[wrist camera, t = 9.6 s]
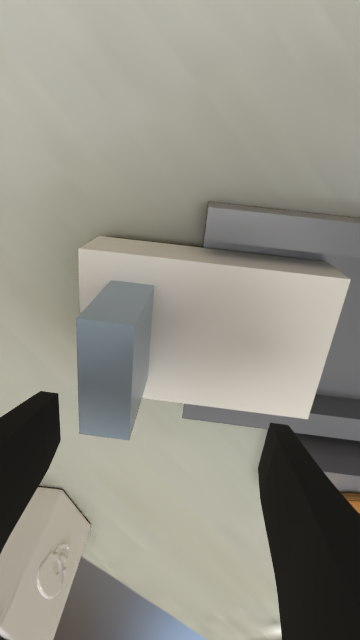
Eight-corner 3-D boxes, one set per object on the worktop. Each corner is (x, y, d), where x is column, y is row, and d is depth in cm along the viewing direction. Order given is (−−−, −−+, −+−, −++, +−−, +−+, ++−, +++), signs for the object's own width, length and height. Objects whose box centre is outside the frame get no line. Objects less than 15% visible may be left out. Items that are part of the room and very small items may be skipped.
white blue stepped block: (327, 261, 18) (404, 320, 11) (294, 384, 21) (337, 493, 14) (99, 236, 18) (29, 276, 11) (99, 360, 21) (44, 453, 14)
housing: (516, 234, 18) (622, 256, 13) (389, 497, 26) (428, 569, 21) (208, 201, 18) (208, 211, 14) (175, 469, 26) (168, 532, 21)
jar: (107, 540, 30) (48, 752, 19) (32, 559, 32) (-60, 763, 21) (50, 468, 27) (-59, 669, 16) (-29, 494, 29) (-173, 690, 18)
